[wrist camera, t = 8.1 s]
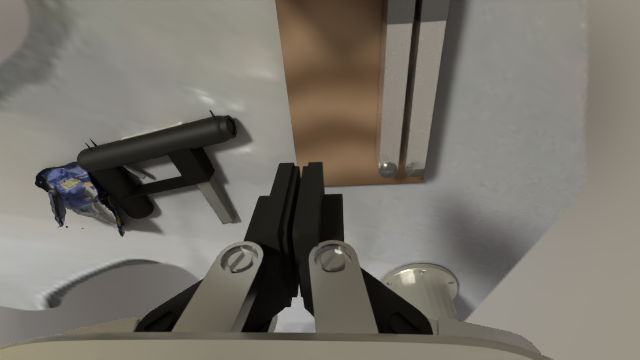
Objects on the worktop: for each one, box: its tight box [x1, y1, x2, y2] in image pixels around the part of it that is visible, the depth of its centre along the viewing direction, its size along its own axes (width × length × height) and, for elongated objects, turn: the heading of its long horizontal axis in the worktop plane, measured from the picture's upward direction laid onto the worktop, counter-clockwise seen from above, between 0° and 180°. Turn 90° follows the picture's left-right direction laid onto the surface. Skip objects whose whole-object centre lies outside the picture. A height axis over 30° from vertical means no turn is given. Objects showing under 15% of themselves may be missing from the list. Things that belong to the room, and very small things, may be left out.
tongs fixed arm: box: [400, 0, 450, 177], centre depth 28 cm, size 20×2×3 cm, turn 4°
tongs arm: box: [376, 0, 416, 178], centre depth 28 cm, size 20×2×3 cm, turn 3°
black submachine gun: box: [77, 110, 237, 224], centre depth 39 cm, size 3×20×16 cm
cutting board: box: [275, 0, 424, 186], centre depth 31 cm, size 25×15×2 cm, turn 4°
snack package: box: [35, 162, 125, 237], centre depth 40 cm, size 12×6×12 cm
